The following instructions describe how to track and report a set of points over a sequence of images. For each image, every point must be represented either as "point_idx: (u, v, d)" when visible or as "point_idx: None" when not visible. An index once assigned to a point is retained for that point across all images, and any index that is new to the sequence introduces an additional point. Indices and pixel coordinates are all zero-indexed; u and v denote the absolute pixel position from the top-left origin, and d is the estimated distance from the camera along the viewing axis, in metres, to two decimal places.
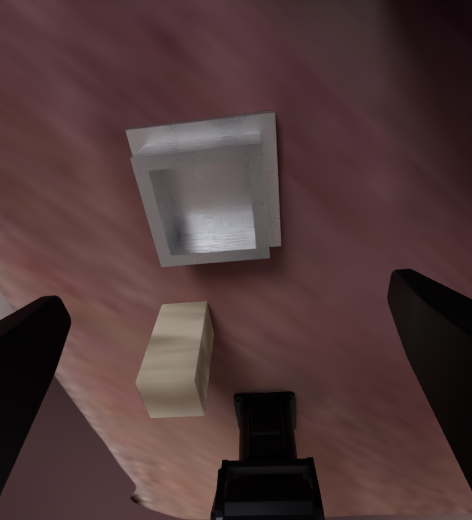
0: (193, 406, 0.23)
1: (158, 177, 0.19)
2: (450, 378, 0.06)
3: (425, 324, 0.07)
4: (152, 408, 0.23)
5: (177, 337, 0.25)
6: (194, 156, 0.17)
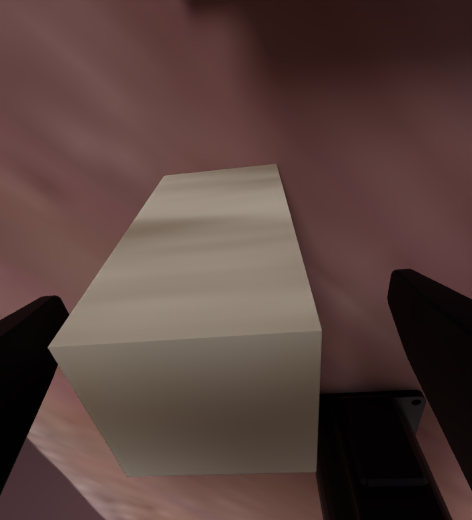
0: (286, 443, 0.06)
1: None
2: (450, 378, 0.06)
3: (425, 324, 0.07)
4: (133, 449, 0.06)
5: (213, 219, 0.08)
6: None
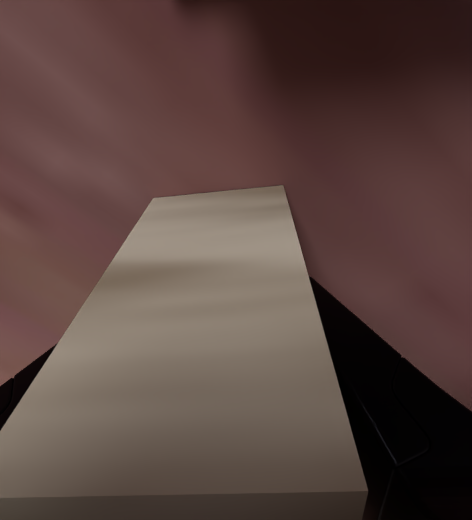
0: None
1: None
2: None
3: None
4: None
5: (208, 265, 0.06)
6: None
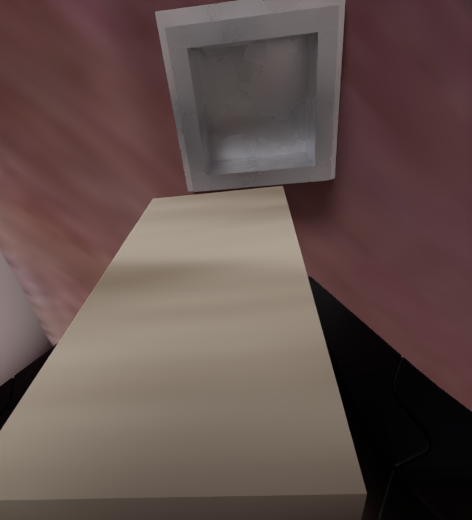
0: None
1: (195, 71, 0.15)
2: None
3: None
4: None
5: (207, 266, 0.06)
6: (249, 26, 0.13)
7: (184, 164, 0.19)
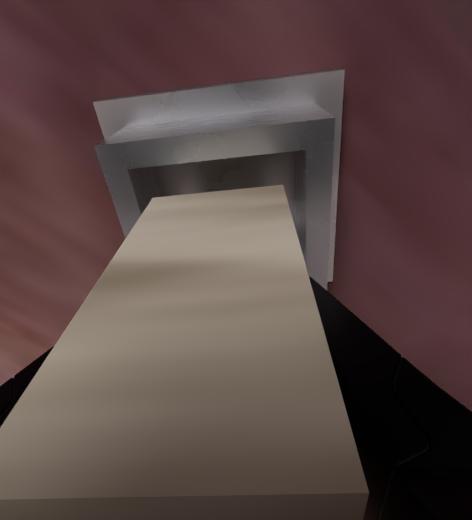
0: None
1: (147, 180, 0.12)
2: None
3: None
4: None
5: (207, 265, 0.06)
6: (210, 143, 0.10)
7: None
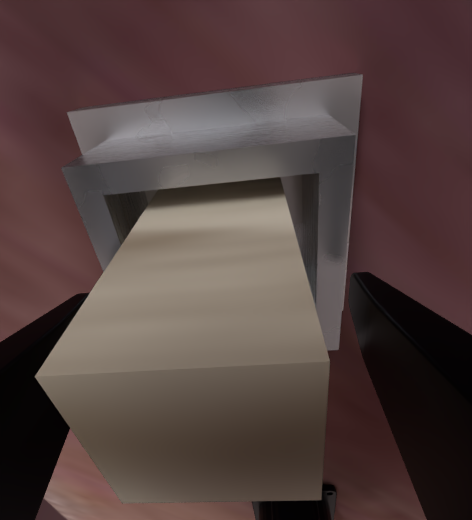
0: (289, 472, 0.06)
1: (130, 204, 0.10)
2: (395, 381, 0.06)
3: (375, 327, 0.07)
4: (128, 477, 0.06)
5: (213, 231, 0.08)
6: (202, 165, 0.08)
7: None
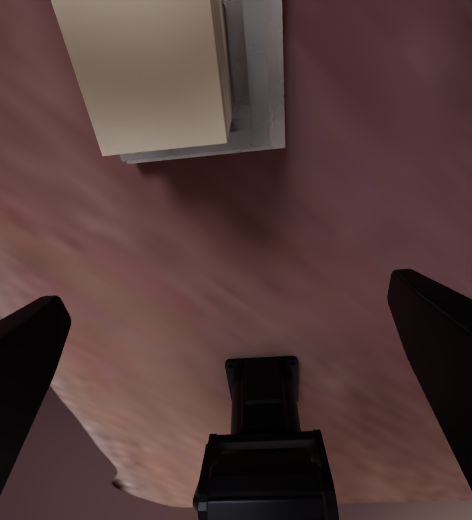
0: (202, 105, 0.09)
1: None
2: (450, 378, 0.06)
3: (425, 324, 0.07)
4: (105, 118, 0.10)
5: None
6: None
7: None
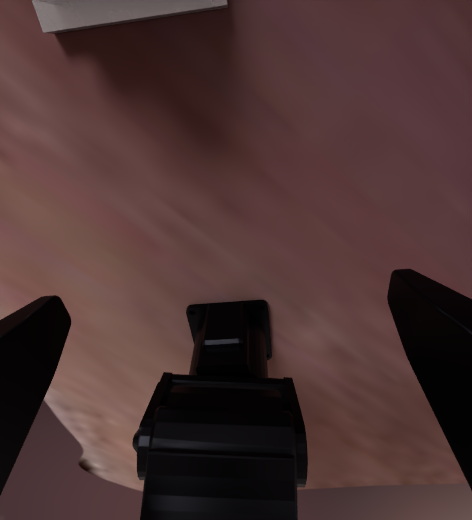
0: None
1: None
2: (450, 378, 0.06)
3: (425, 324, 0.07)
4: None
5: None
6: None
7: None
